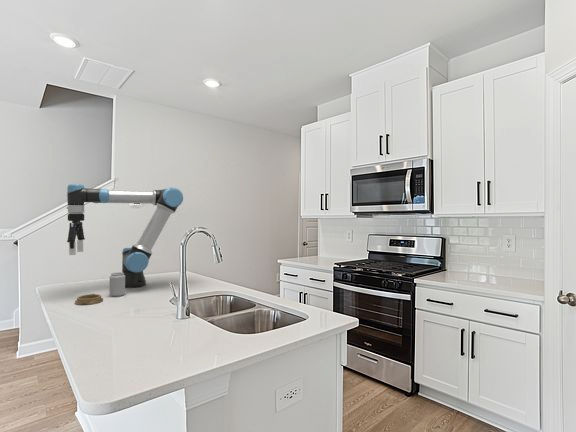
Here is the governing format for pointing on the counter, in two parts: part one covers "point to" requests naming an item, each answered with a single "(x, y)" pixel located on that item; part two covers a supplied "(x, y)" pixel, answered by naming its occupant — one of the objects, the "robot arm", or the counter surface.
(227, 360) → the counter surface
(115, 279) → the can
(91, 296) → the seat
